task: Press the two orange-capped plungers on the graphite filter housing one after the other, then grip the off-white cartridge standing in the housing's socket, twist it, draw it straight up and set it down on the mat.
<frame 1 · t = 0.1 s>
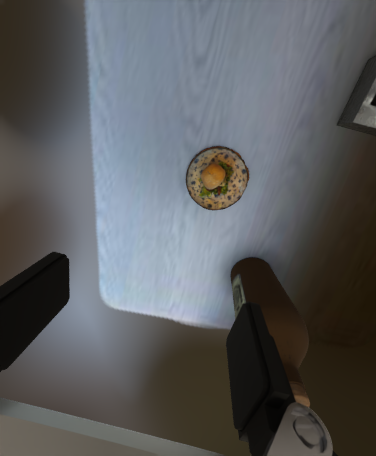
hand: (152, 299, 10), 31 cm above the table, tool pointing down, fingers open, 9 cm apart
olive oil: (250, 273, 45), on the table
burger: (216, 178, 38), on the table
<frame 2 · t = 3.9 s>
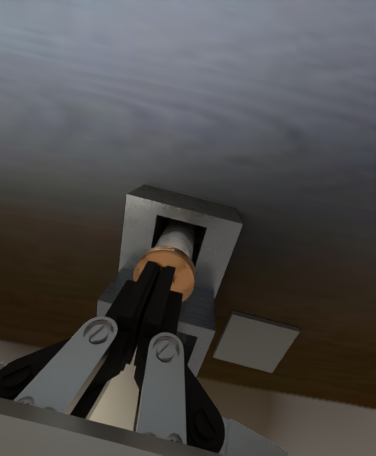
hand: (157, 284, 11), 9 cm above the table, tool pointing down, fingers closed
housing: (168, 286, 22), on the table
mat: (252, 341, 24), on the table
cartridge: (159, 313, 19), point 4 cm above the table, touching housing
plunger 2: (174, 248, 15), point 5 cm above the table, slide at -1.2 cm, touching gripper
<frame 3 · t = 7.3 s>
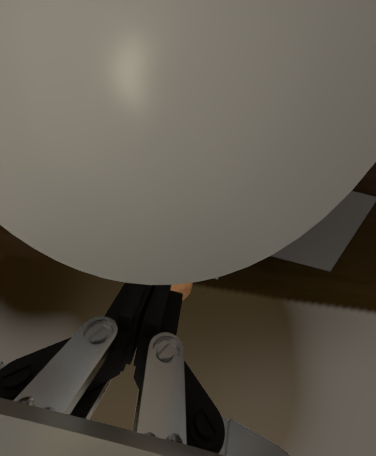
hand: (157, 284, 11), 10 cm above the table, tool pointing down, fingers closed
mat: (308, 224, 19), on the table
cartridge: (200, 137, 13), point 4 cm above the table, touching housing
plunger 1: (173, 248, 15), point 6 cm above the table, slide at -0.3 cm, touching gripper
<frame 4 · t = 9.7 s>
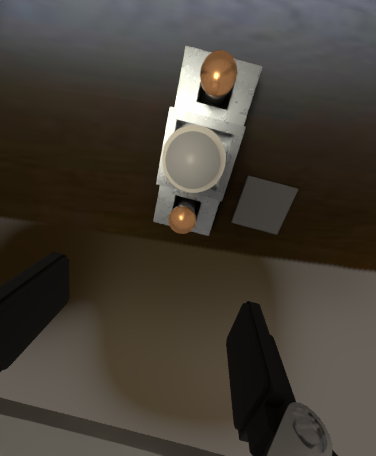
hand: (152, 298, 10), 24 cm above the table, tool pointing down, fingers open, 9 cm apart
housing: (200, 155, 30), on the table
mat: (262, 205, 32), on the table
cartridge: (199, 156, 26), point 4 cm above the table, touching housing
plunger 1: (185, 211, 29), point 4 cm above the table, slide at -1.6 cm
plunger 2: (216, 86, 23), point 4 cm above the table, slide at -1.6 cm
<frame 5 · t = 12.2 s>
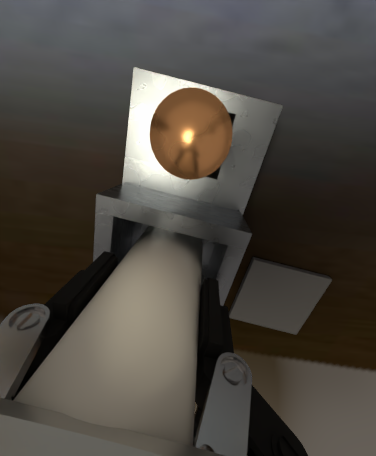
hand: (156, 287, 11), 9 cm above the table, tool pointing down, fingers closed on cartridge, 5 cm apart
housing: (178, 228, 19), on the table
mat: (274, 296, 21), on the table
cartridge: (171, 247, 16), point 4 cm above the table, touching gripper, housing
plunger 2: (195, 141, 12), point 4 cm above the table, slide at -1.6 cm
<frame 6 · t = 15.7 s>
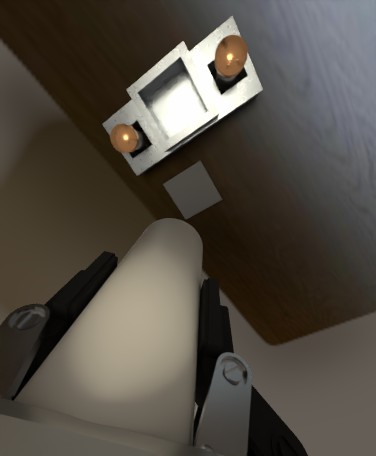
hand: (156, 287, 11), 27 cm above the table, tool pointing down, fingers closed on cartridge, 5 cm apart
housing: (181, 112, 32), on the table
mat: (192, 191, 36), on the table
cartridge: (171, 247, 16), point 22 cm above the table, touching gripper
plunger 1: (133, 140, 30), point 4 cm above the table, slide at -1.6 cm
plunger 2: (227, 69, 25), point 4 cm above the table, slide at -1.6 cm
when the fingers open (7 cm above the table, at t = 19.1 s): cartridge drops 2 cm, resting on mat.
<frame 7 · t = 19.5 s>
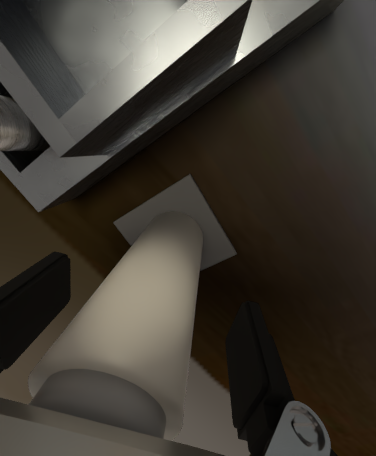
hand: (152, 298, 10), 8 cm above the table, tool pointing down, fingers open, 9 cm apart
housing: (141, 60, 13), on the table
mat: (175, 235, 18), on the table
cartridge: (174, 238, 17), point 1 cm above the table, touching mat
plunger 1: (7, 124, 11), point 4 cm above the table, slide at -1.6 cm
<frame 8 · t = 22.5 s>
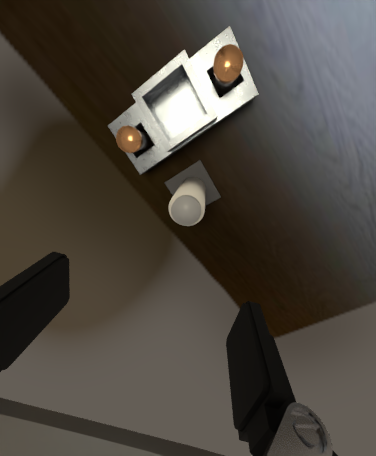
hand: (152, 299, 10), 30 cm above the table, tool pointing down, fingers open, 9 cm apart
housing: (181, 115, 33), on the table
mat: (193, 189, 38), on the table
cartridge: (192, 189, 37), point 1 cm above the table, touching mat
plunger 1: (137, 140, 32), point 4 cm above the table, slide at -1.6 cm
plunger 2: (225, 74, 27), point 4 cm above the table, slide at -1.6 cm
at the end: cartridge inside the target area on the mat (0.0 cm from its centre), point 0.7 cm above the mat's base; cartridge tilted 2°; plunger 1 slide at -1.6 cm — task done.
